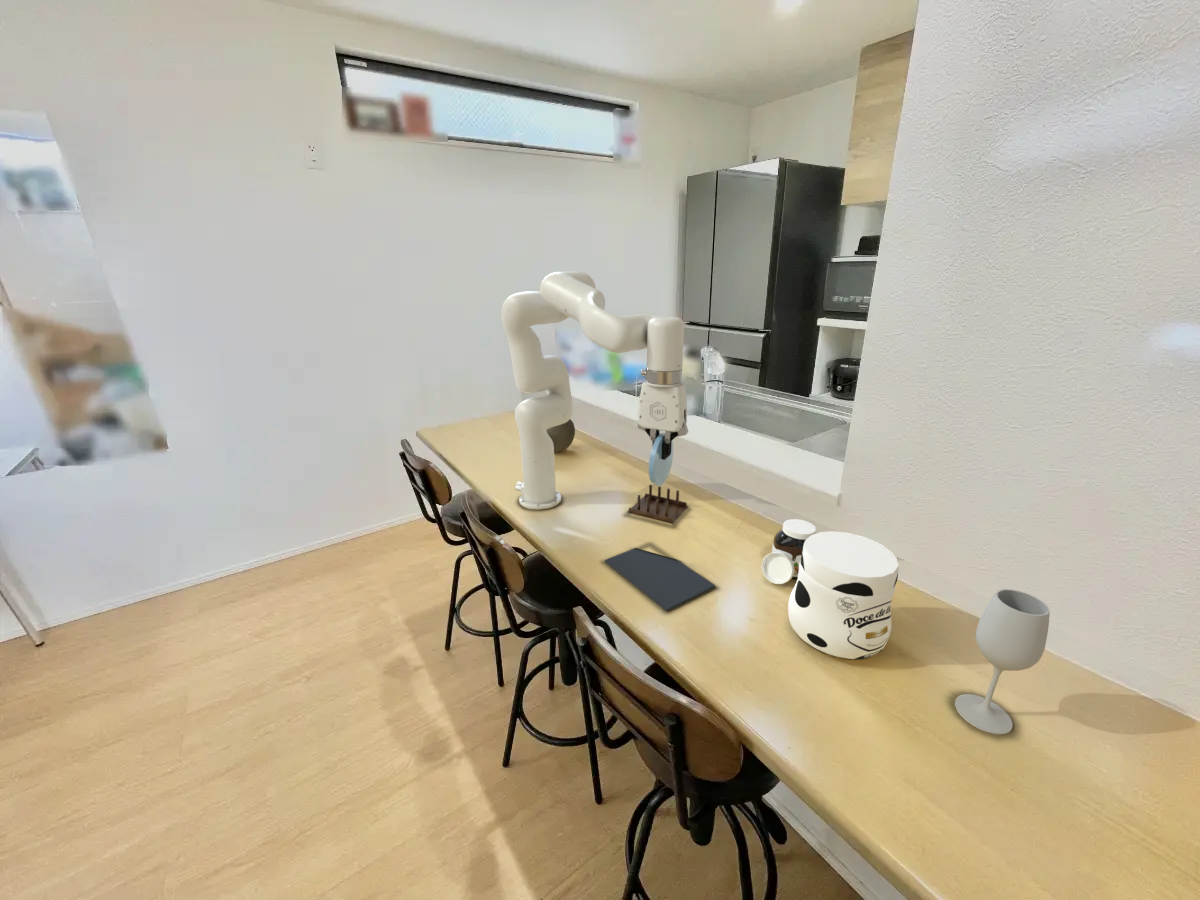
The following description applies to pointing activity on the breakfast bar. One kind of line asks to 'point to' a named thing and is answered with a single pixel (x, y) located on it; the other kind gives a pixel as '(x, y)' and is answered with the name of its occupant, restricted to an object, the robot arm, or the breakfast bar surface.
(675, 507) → the rack
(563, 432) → the dark grey ball
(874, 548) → the milk container
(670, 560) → the mat
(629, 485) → the breakfast bar surface
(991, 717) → the wineglass
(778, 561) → the spread jar
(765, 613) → the breakfast bar surface
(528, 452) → the robot arm
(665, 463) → the plate
